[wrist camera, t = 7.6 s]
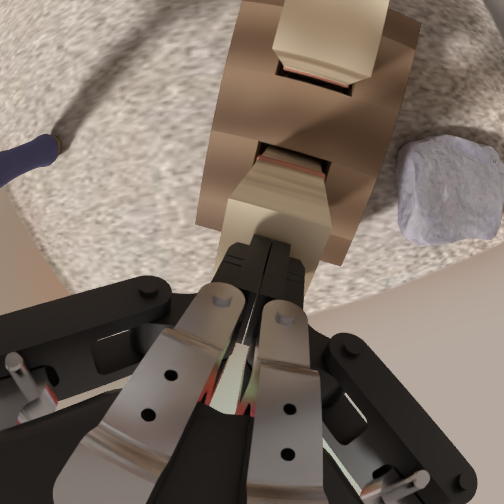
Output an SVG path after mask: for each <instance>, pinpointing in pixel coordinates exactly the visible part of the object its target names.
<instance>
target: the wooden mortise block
mask: <svg viewBox="0 0 504 504" xmlns="http://www.w3.org/2000/svg"><path fill="white" fill-rule="evenodd" d="M284 2H285V0H242V4H241V7H240V11H239V14H238V18H237V21H236V25H235V29H234V33H233V37H232V40H231V44H230V48H229V52H228V56H227V61H226V65H225V69H224V73H223V78H222V82H221V86H220V91H219V95H218V100H217V105H216V110H215V114H214V119H213V124H212V129H211V134H210V140H209V145H208V150H207V156H206V161H205V167H204V172H203V178H202V184H201V190H200V197H199V203H198V209H197V216H196V223H195V224H196V225H200V226H203V227H207V228H210V229H214V230H217V231H221V232H222V227H223V222H224V217H225V212H226V207H227V202H228V198H229V197H230V195H231V194H232V193H233V191H234V190H235V189H236V187H237V186H238V185H239V183H240V182H241V181H242V180H243V178H244V177H245V176H246V174H247V173H248V172H249V171H250V169H251V168H252V167H253V165H254V164H255V163H256V160H257V157H258V156H259V155H262V154H263V153H264V152H265V150H266V149H267V148H268V147H269V145H273V146H277V147H280V148H284V149H288V150H291V151H295V152H298V153H301V154H305V155H308V156H311V157H315V158H318V159H320V164H321V169H322V173H324V174H325V179H324V184H325V189H326V195H327V200H328V206H329V212H330V218H331V224H332V230H331V233H330V235H329V238H328V240H327V243H326V246H325V248H324V251H323V253H322V256H321V258H320V260H321V261H324V262H328V263H331V264H335V265H338V266H341V265H342V263H343V260H344V258H345V256H346V254H347V251H348V249H349V247H350V244H351V242H352V240H353V237H354V235H355V233H356V230H357V228H358V225H359V223H360V221H361V218H362V216H363V213H364V211H365V208H366V206H367V203H368V200H369V198H370V195H371V193H372V190H373V187H374V185H375V182H376V179H377V177H378V174H379V171H380V168H381V165H382V163H383V160H384V157H385V154H386V151H387V148H388V145H389V142H390V139H391V136H392V133H393V130H394V127H395V123H396V120H397V117H398V114H399V110H400V107H401V104H402V100H403V97H404V93H405V90H406V86H407V82H408V78H409V75H410V71H411V67H412V63H413V59H414V54H415V50H416V46H417V41H418V37H419V32H420V27H421V23H420V22H418V21H416V20H414V19H411V18H409V17H407V16H405V15H403V14H400V13H398V12H396V11H393V10H391V9H387V14H386V18H385V23H384V27H383V31H382V35H381V40H380V44H379V48H378V52H377V56H376V59H375V63H374V67H373V71H372V75H371V77H369V78H366V79H364V80H361V81H358V82H355V83H352V84H349V86H348V87H347V88H346V87H341V88H338V89H336V88H333V87H330V86H327V85H324V84H320V83H317V82H313V81H310V80H306V79H303V78H299V77H295V76H291V75H289V73H288V71H287V70H284V69H283V67H284V65H283V64H282V62H281V61H280V59H279V58H278V56H277V55H276V53H275V52H274V50H273V49H272V47H273V43H274V39H275V36H276V32H277V28H278V24H279V21H280V17H281V13H282V10H283V6H284Z"/></svg>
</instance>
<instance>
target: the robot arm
mask: <svg viewBox="0 0 504 504" xmlns="http://www.w3.org/2000/svg"><path fill="white" fill-rule="evenodd" d="M271 240H272V239H271V238H268V237H264V236H261V235H257V234H254V235H253V237H252V240H251V242H250V245H247V244H244V243H240V242H236V243H234V244H233V245H231V246H229V248H228V250H227V252H226V254H225V256H224V258H223V260H222V262H221V263H220V265H219V267H218V269H217V271H216V273H215V275H214V277H213V279H212V281H211V283H209V284H206V285H204V286H203V287H202V288H201V289H200V290H199V292H198V293H195V294H178V293H172V290H171V287H170V285H169V284H168V283H167V282H166V281H165V280H163V279H161V278H159V277H155V276H139V277H135V278H132V279H128V280H125V281H121V282H117V283H114V284H110V285H107V286H103V287H99V288H96V289H92V290H89V291H85V292H82V293H78V294H74V295H71V296H67V297H64V298H60V299H57V300H54V301H50V302H46V303H42V304H39V305H35V306H32V307H29V308H25V309H21V310H18V311H14V312H11V313H8V314H4V315H1V316H0V504H466V503H468V502H469V501H470V500H471V499H472V498H473V496H474V495H475V493H476V489H477V476H476V473H475V471H474V469H473V468H472V467H471V466H470V464H469V463H468V462H467V461H466V459H465V458H464V457H463V456H462V454H461V453H460V452H459V451H458V449H457V448H456V447H455V446H454V445H453V443H452V442H451V441H450V440H449V439H448V438H447V436H446V435H445V434H444V433H443V431H442V430H441V429H440V428H439V427H438V426H437V424H436V423H435V422H434V421H433V420H432V419H431V417H430V416H429V415H428V414H427V413H426V411H425V410H424V409H423V408H422V407H421V406H420V404H419V403H418V402H417V401H416V400H415V399H414V398H413V396H412V395H411V394H410V393H409V392H408V391H407V389H406V388H405V387H404V386H403V385H402V384H401V382H400V381H399V380H398V379H397V378H396V377H395V376H394V374H392V372H391V371H390V370H389V369H388V368H387V367H386V365H385V364H384V363H383V362H382V361H381V360H380V359H379V357H378V356H377V355H376V354H375V353H374V352H373V351H372V350H371V348H370V347H369V346H367V344H366V343H365V342H364V341H363V340H362V339H360V338H359V337H357V336H355V335H353V334H349V333H338V334H336V335H334V336H333V337H332V338H331V339H330V338H328V337H326V336H324V335H322V334H320V333H318V332H317V331H315V330H314V329H313V328H312V327H311V326H309V324H308V319H307V316H306V314H305V312H304V311H303V303H304V284H305V279H304V278H305V267H304V265H303V264H302V262H301V260H299V259H295V258H292V257H289V256H290V248H291V244H288V243H285V242H282V241H278V240H275V239H273V241H272V245H271V248H270V251H269V247H270V243H271ZM268 251H269V255H268ZM267 255H268V258H267ZM266 259H267V261H266ZM265 262H266V264H265ZM264 266H265V268H264ZM263 270H264V271H263ZM261 277H262V278H261ZM255 299H256V300H255ZM254 302H255V303H254ZM253 305H254V307H253ZM252 308H253V311H252ZM251 312H252V314H251ZM250 315H251V318H250ZM249 318H250V322H249V325H248V329H247V332H246V337H245V340H244V345H248V346H249V349H248V353H247V356H246V359H245V362H244V365H243V372H242V378H241V384H240V390H239V396H238V402H237V408H236V412H235V415H231V414H223V413H221V412H219V411H217V410H215V409H213V408H212V407H210V406H209V405H210V402H211V400H212V397H213V395H214V393H215V390H216V388H217V386H218V383H219V381H220V379H221V376H222V374H223V372H224V369H225V367H226V365H227V362H228V360H229V356H230V355H231V354H232V352H233V350H234V347H235V343H236V342H237V343H240V344H241V343H242V340H243V337H244V334H245V331H246V328H247V324H248V321H249ZM128 329H129V330H128ZM126 330H128V331H126ZM123 331H126V332H123ZM120 332H123V333H120ZM117 333H120V334H117ZM114 334H117V335H114ZM111 335H114V336H111ZM108 336H111V337H108ZM105 337H108V338H105ZM102 338H105V339H102ZM99 339H102V340H99ZM97 340H99V341H97ZM129 375H132V376H131V377H130V379H129V380H128V382H127V383H126V384H125V386H124V387H123V388H121V389H114V390H111V391H107V392H104V393H101V394H99V395H97V396H94V397H92V398H89V399H87V400H84V401H82V402H79V403H77V404H74V405H71V406H69V407H66V408H64V409H61V410H58V411H56V412H54V411H55V409H56V407H57V404H58V401H60V400H63V399H66V398H69V397H72V396H75V395H78V394H81V393H84V392H86V391H89V390H92V389H95V388H98V387H100V386H103V385H106V384H108V383H111V382H113V381H116V380H119V379H121V378H124V377H127V376H129ZM345 392H346V393H347V394H348V396H349V397H350V398H351V400H352V401H353V402H354V403H355V405H356V406H357V407H358V408H359V410H360V411H361V412H362V414H363V415H364V416H365V418H366V420H367V423H368V424H367V423H366V422H365V421H364V419H363V418H362V417H361V415H360V414H359V413H358V412H357V410H356V409H355V408H354V407H353V405H352V404H351V403H350V402H349V400H348V399H347V398H346V396H345V395H344V394H345ZM322 437H323V438H324V439H325V441H326V442H327V443H328V445H329V446H330V448H331V449H332V450H333V452H334V453H335V455H336V456H337V457H338V459H339V460H340V461H341V463H342V464H343V466H344V467H345V468H346V470H347V471H348V472H349V474H350V475H351V476H352V477H353V479H354V480H355V481H356V483H357V484H358V485H359V487H360V488H361V489H362V491H361V495H360V496H359V495H358V494H357V492H356V491H355V489H354V488H353V486H352V485H351V484H350V482H349V481H348V479H347V478H346V476H345V475H344V474H343V472H342V471H341V469H340V468H339V466H338V465H337V463H336V462H335V460H334V459H333V458H332V456H331V455H330V454H329V453H328V452H327V451H326V450H325V449H324V448H323V443H322V442H323V441H322Z"/></svg>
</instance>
